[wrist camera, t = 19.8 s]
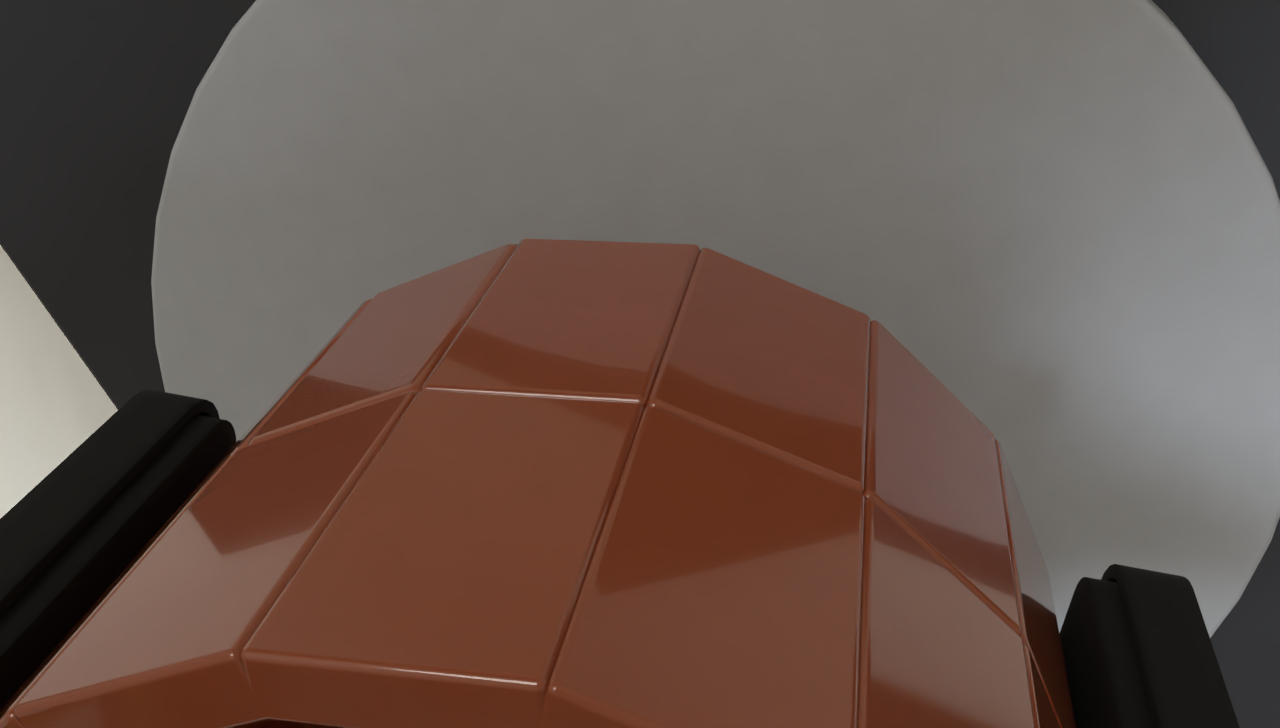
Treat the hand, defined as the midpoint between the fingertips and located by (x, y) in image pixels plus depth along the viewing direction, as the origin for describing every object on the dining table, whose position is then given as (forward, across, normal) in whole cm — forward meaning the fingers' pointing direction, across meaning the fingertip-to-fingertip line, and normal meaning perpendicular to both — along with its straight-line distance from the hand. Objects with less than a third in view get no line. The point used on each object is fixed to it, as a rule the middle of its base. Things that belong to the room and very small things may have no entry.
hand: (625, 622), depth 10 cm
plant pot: (+1, 0, 0) cm, 1 cm away
